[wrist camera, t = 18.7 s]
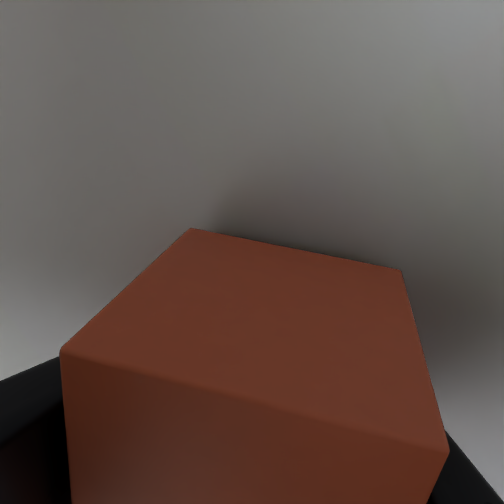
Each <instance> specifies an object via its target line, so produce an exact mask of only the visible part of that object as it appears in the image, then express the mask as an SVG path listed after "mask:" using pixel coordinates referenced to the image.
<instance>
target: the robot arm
mask: <svg viewBox="0 0 504 504" xmlns="http://www.w3.org/2000/svg"><path fill="white" fill-rule="evenodd" d="M444 430H445V429H444ZM445 434H446V437H447V441H448V445H449V449H450V452H449V455H448V457H447V459H446V461H445V463H444V466H443V468H442V470H441V472H440V474H439V477H438V479H437V481H436V483H435V485H434V488H433V490H432V492H431V494H430V496H429V499H428V501H427V503H426V504H504V502H503V501H502V499H501V498H500V497H499V496H498V494H497V493H496V492H495V491H494V489H493V488H492V487H491V486H490V485H489V483H488V482H487V481H486V480H485V478H484V477H483V476H482V475H481V473H480V472H479V471H478V470H477V469H476V467H475V466H474V465H473V464H472V462H471V461H470V460H469V459H468V458H467V456H466V455H465V454H464V453H463V451H462V450H461V449H460V448H459V446H458V445H457V444H456V443H455V442H454V440H453V439H452V438H451V437H450V435H449V434H448V433H447V432H446V431H445ZM0 504H72V502H71V490H70V478H69V465H68V453H67V441H66V429H65V417H64V404H63V392H62V380H61V368H60V356H58V357H56V358H54V359H51V360H49V361H46V362H44V363H42V364H39V365H37V366H35V367H32V368H30V369H28V370H25V371H23V372H20V373H18V374H16V375H13V376H11V377H9V378H6V379H4V380H1V381H0Z"/></svg>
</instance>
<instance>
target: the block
mask: <svg viewBox="0 0 504 504" xmlns="http://www.w3.org/2000/svg"><path fill="white" fill-rule="evenodd" d="M59 356H60V368H61V380H62V392H63V404H64V417H65V429H66V441H67V453H68V465H69V478H70V490H71V502H72V504H426V503H427V501H428V499H429V496H430V494H431V492H432V490H433V488H434V485H435V483H436V481H437V479H438V477H439V474H440V472H441V470H442V468H443V466H444V463H445V461H446V459H447V457H448V455H449V452H450V449H449V445H448V441H447V437H446V434H445V430H444V426H443V423H442V419H441V415H440V412H439V408H438V404H437V401H436V397H435V393H434V390H433V386H432V382H431V379H430V375H429V371H428V368H427V364H426V360H425V357H424V353H423V349H422V346H421V342H420V338H419V335H418V331H417V327H416V324H415V320H414V317H413V313H412V309H411V306H410V302H409V298H408V295H407V291H406V287H405V284H404V280H403V276H402V273H401V271H400V270H398V269H393V268H388V267H383V266H378V265H373V264H368V263H363V262H358V261H353V260H348V259H343V258H338V257H333V256H328V255H323V254H318V253H313V252H308V251H303V250H298V249H294V248H289V247H284V246H279V245H274V244H269V243H264V242H259V241H254V240H249V239H244V238H239V237H234V236H229V235H224V234H219V233H214V232H209V231H204V230H199V229H194V228H189V229H188V230H187V231H186V232H185V233H184V234H183V235H182V236H181V237H179V238H178V239H177V240H176V241H175V242H174V243H173V244H172V245H171V246H170V247H169V248H168V249H167V250H166V251H164V252H163V253H162V254H161V255H160V256H159V257H158V258H157V259H156V260H155V261H154V262H153V263H152V264H150V265H149V266H148V267H147V268H146V269H145V270H144V271H143V272H142V273H141V274H140V275H139V276H138V277H136V278H135V279H134V280H133V281H132V282H131V283H130V284H129V285H128V286H127V287H126V288H125V289H124V290H122V291H121V292H120V293H119V294H118V295H117V296H116V297H115V298H114V299H113V300H112V301H111V302H110V303H108V304H107V305H106V306H105V307H104V308H103V309H102V310H101V311H100V312H99V313H98V314H97V315H96V316H95V317H93V318H92V319H91V320H90V321H89V322H88V323H87V324H86V325H85V326H84V327H83V328H82V329H81V330H79V331H78V332H77V333H76V334H75V335H74V336H73V337H72V338H71V339H70V340H69V341H68V342H67V343H65V344H64V345H63V346H62V347H61V349H60V352H59Z"/></svg>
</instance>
